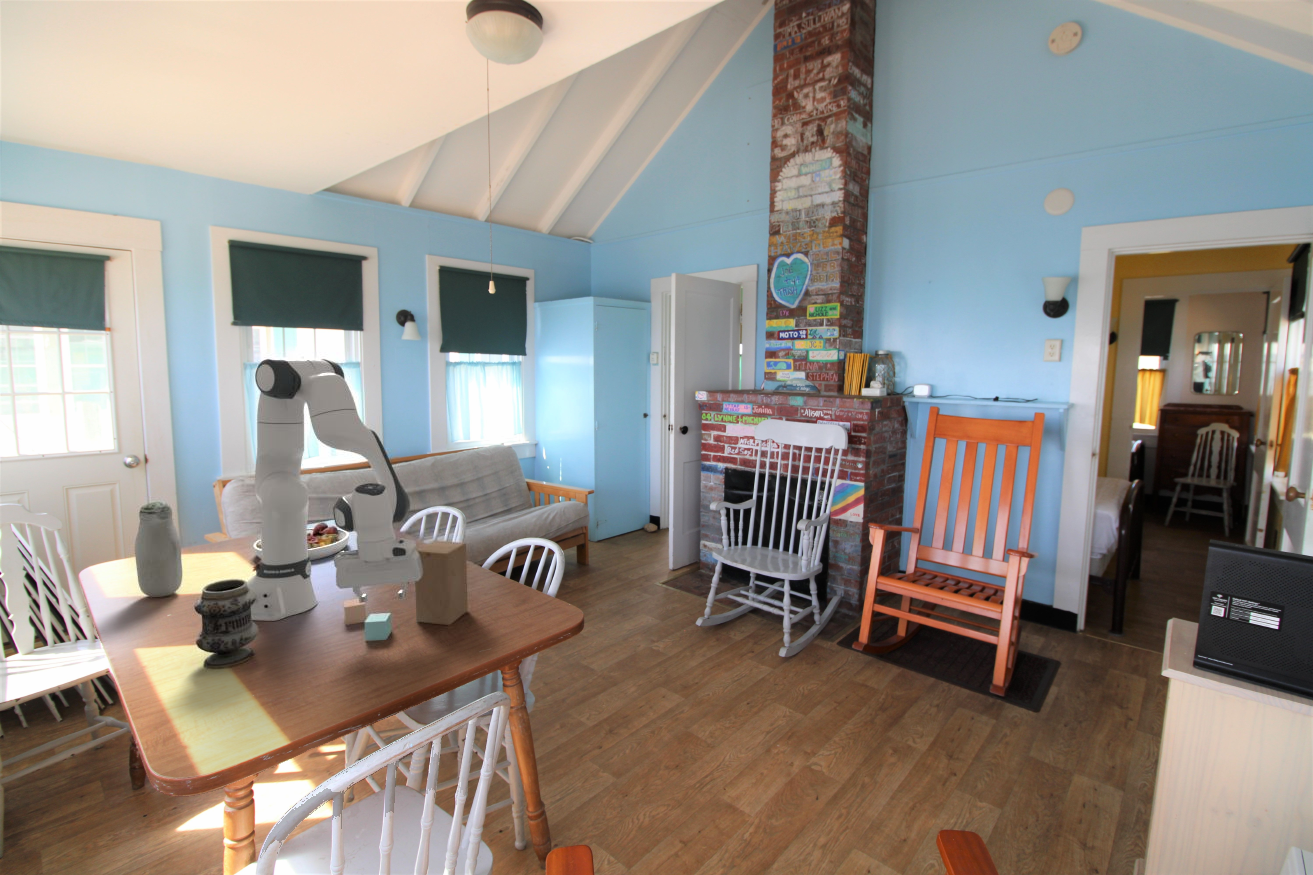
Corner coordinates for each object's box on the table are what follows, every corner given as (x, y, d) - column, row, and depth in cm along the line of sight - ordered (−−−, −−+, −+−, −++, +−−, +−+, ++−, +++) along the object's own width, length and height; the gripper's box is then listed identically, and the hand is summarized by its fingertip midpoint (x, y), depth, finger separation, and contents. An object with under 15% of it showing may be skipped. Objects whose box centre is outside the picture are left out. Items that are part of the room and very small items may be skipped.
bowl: (321, 566, 208) (320, 544, 208) (234, 565, 209) (232, 542, 208) (364, 540, 238) (363, 521, 237) (287, 539, 239) (286, 519, 238)
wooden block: (449, 626, 164) (447, 553, 161) (415, 622, 166) (413, 550, 163) (468, 611, 173) (466, 542, 171) (436, 607, 175) (434, 539, 173)
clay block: (345, 625, 163) (344, 607, 163) (344, 618, 168) (343, 600, 167) (366, 621, 166) (365, 603, 165) (364, 614, 170) (363, 597, 169)
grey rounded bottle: (132, 603, 175) (123, 507, 172) (153, 589, 185) (145, 499, 182) (172, 600, 177) (163, 506, 174) (190, 587, 187) (183, 498, 184)
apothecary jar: (250, 667, 141) (244, 591, 138) (188, 674, 137) (181, 597, 135) (267, 643, 152) (262, 573, 150) (210, 649, 149) (204, 578, 146)
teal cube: (365, 640, 155) (364, 622, 154) (371, 632, 159) (370, 613, 159) (386, 639, 155) (385, 620, 155) (391, 631, 160) (390, 612, 160)
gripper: (328, 556, 150) (335, 609, 152) (416, 548, 153) (422, 600, 156) (336, 547, 156) (343, 599, 158) (421, 540, 159) (426, 590, 162)
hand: (383, 599), depth 157 cm, fingers open, 8 cm apart
